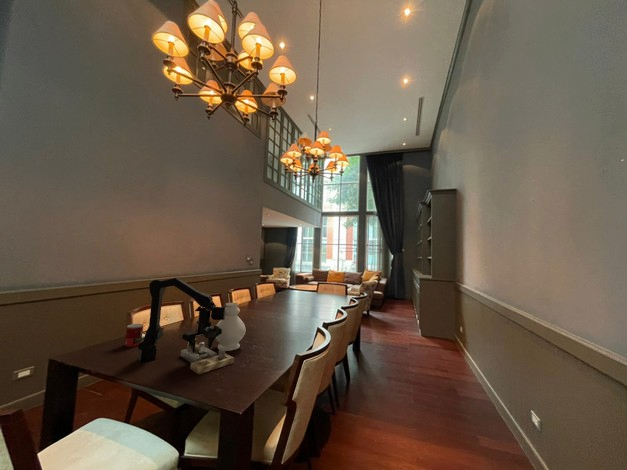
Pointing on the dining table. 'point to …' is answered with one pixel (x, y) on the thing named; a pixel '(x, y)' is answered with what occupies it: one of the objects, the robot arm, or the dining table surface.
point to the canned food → (134, 335)
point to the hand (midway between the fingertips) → (201, 350)
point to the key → (195, 345)
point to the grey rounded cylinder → (201, 348)
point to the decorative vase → (231, 329)
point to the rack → (212, 363)
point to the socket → (195, 357)
